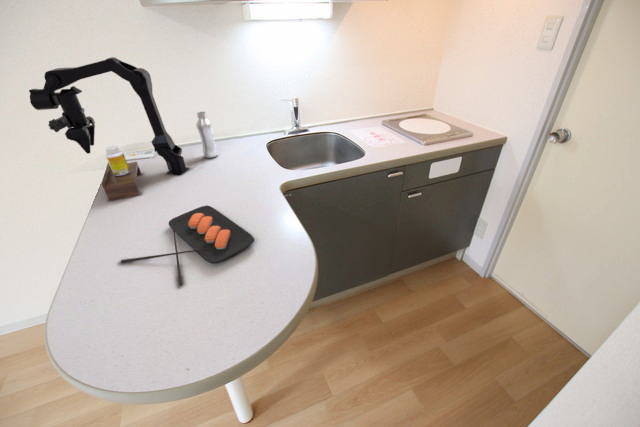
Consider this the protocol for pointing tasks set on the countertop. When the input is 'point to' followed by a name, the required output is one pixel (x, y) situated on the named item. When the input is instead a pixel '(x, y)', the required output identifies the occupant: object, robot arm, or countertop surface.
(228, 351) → the countertop surface
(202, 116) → the plastic bottle
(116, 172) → the supplement bottle
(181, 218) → the sushi plate
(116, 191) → the shelf
